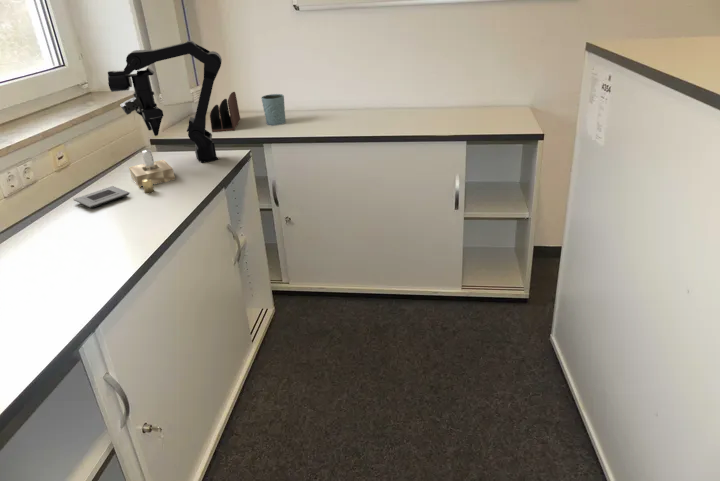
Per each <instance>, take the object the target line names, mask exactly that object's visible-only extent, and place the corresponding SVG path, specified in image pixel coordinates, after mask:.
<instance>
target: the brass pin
mask: <svg viewBox="0 0 720 481" xmlns="http://www.w3.org/2000/svg"><path fill="white" fill-rule="evenodd" d="M142 184H143V187H142V188H143V191H144V194H146V193H149V194H153V193H154V192H155V189H154V185H153V183H152V179H144V180H142ZM152 192H153V193H152Z"/></svg>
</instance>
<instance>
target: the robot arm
mask: <svg viewBox="0 0 720 481" xmlns="http://www.w3.org/2000/svg"><path fill="white" fill-rule="evenodd" d="M185 55H186V56H187V55H190V56H192V57H193V58H195V59H196V60H197V61H199V62H200V63H202V64H203V80H202V85H201V89H200V93H199V97H198V102H197V107H196V110H195V111H196V112H195V115H194V116H193V117H192V116H189V119H188V126H187V129H186V132H187V135H188V136H187V137H188V138H189V140H190V141H192V142H194V143H195V145H194V146H195V148H194V152H195V158H196V160H197V161H199V162H200V163H208V162H213V161H217V160H219V157H218V156H217V150H216V147H215V142H214V141H212V138H213V137H212V136H213V134H212V133H211V132H209V131H208V130H207V129H206V126H207V125H206V124H207V123H206V122H207V112H208V109H209V106H210V105H209V104H210V100H211V95H212V90H213V87H214V82H215V80H216V78H217V76H218V74H219V71H220V69H221V66H222V61H223V60H222V59H223V58H222V56H221V55H220V53H218V52H217V51H214V50H212V51H210V50H209V49H207V48H205V47H203V46H201V45H199V44H198V43H195V42H194V41H193V40H187V41H185V42H180V43H177V44H172V45H168V46H165V47H161V48H155V49H138V50H137V49H136V50H133V51H131V52H130V53H128V54H127V55H126V58H125V62H126V65H125V67H124V68H123V70H109V71H107V78H108V79H107V80H108V82H107V84H108V88H109V90H110V91H111V92H125V91H130V89H131V88H132V87H133V90H134V92H133V97H131V98H129V99H127V100H125V101H124V102H122V103H120V104H119V106H120V107H121V109H122V111H123V112H124V113H125V114H126V115H130V114H132V113H133V112H135V113H136V114H138V115H139V116H141V117H142V119H143V122H144V123H145V126H146V128H147V130H148V131H152V133H153V135H154V136H155V137H157V136H159V131H160V127H161V125H162V124H161V123H162V119H163V117H164V111H163V110H162V109H161V108H160V107H158V104H157V102H156V101H155V98H154V95H155V92H154V91H153V88H152V84H151V79H150V76H154V74H155V71H154V70H152V69H150V67H148V66H150V65H153V64H155V63H157V62H161V61H165V60H169V59H173V58H178V57H182V56H185ZM146 67H147V68H146ZM144 68H146V69H144ZM135 71H136V73H133V72H135Z"/></svg>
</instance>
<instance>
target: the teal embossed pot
mask: <svg viewBox="0 0 720 481" xmlns="http://www.w3.org/2000/svg"><path fill="white" fill-rule="evenodd" d="M260 98H261V103H262V107H263V112H264V117H265V122H266V124H267V125H268V126H279V125H284V124H286V111H285V108H286V107H285V96H284V94H281V93H271V94H265V95H262V96H261V97H260Z"/></svg>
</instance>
